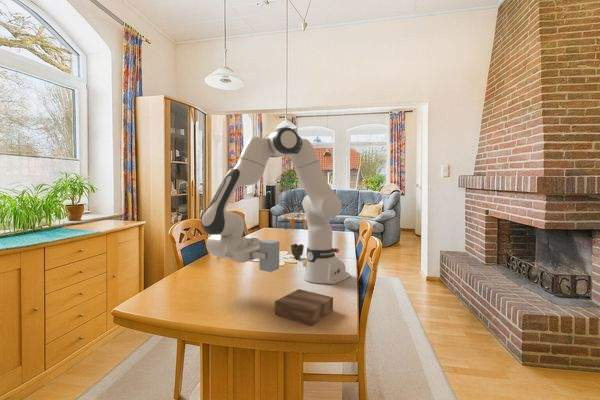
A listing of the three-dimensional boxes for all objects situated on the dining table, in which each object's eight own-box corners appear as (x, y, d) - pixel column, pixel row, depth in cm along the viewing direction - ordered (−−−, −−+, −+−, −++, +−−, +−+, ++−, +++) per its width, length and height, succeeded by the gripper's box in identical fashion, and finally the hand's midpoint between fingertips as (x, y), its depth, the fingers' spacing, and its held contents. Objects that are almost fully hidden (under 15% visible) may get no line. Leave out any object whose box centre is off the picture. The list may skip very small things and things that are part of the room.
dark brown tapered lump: (305, 257, 179) (305, 244, 179) (301, 260, 172) (301, 246, 172) (292, 256, 181) (292, 243, 181) (288, 259, 174) (289, 245, 174)
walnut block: (298, 302, 113) (298, 289, 113) (332, 311, 105) (333, 297, 105) (274, 316, 101) (275, 301, 101) (311, 327, 94) (311, 311, 93)
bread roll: (300, 264, 166) (300, 257, 165) (316, 263, 168) (316, 256, 168) (305, 268, 158) (305, 260, 158) (322, 267, 161) (322, 259, 160)
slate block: (259, 269, 110) (259, 241, 109) (267, 266, 114) (268, 239, 113) (270, 272, 107) (271, 243, 106) (279, 268, 111) (279, 241, 111)
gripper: (221, 245, 108) (252, 250, 101) (258, 237, 125) (287, 241, 118) (221, 263, 108) (252, 270, 101) (258, 252, 126) (287, 257, 118)
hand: (271, 254), depth 110 cm, fingers closed on slate block, 5 cm apart
